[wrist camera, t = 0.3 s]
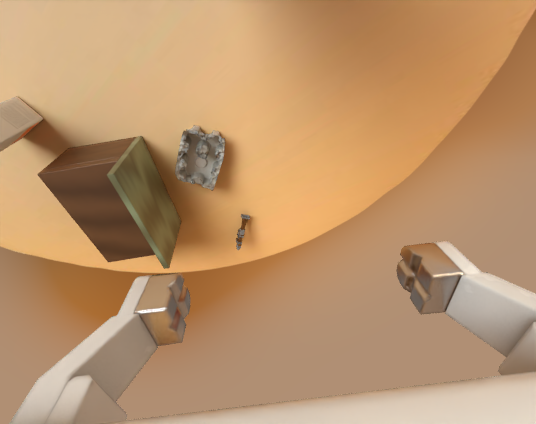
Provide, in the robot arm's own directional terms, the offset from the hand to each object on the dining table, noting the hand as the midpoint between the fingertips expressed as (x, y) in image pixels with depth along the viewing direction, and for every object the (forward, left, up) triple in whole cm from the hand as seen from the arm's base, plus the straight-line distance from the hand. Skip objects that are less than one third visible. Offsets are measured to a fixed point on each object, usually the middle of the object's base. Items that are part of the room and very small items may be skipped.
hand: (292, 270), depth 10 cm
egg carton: (+12, -11, -39) cm, 42 cm away
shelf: (+17, -27, -39) cm, 50 cm away
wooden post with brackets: (+31, -7, -39) cm, 50 cm away
